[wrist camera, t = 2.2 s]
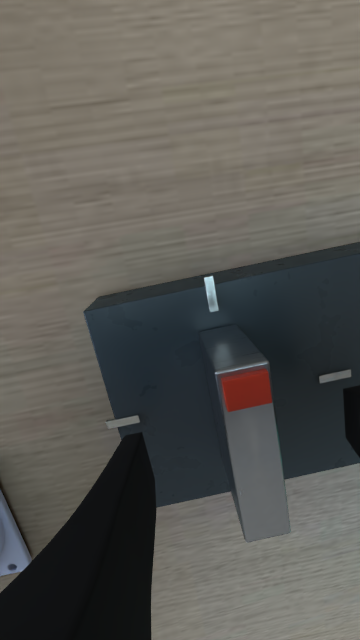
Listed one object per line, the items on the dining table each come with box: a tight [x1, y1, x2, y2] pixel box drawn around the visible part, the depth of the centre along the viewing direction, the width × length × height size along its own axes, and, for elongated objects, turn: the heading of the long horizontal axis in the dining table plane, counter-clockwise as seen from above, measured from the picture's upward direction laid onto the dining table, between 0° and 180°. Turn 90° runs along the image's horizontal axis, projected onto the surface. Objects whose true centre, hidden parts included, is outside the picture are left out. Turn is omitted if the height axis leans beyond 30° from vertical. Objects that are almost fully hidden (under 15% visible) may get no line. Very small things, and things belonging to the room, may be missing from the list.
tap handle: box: [198, 325, 291, 542], centre depth 11 cm, size 6×2×4 cm, turn 11°
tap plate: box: [83, 242, 360, 508], centre depth 14 cm, size 14×11×3 cm
